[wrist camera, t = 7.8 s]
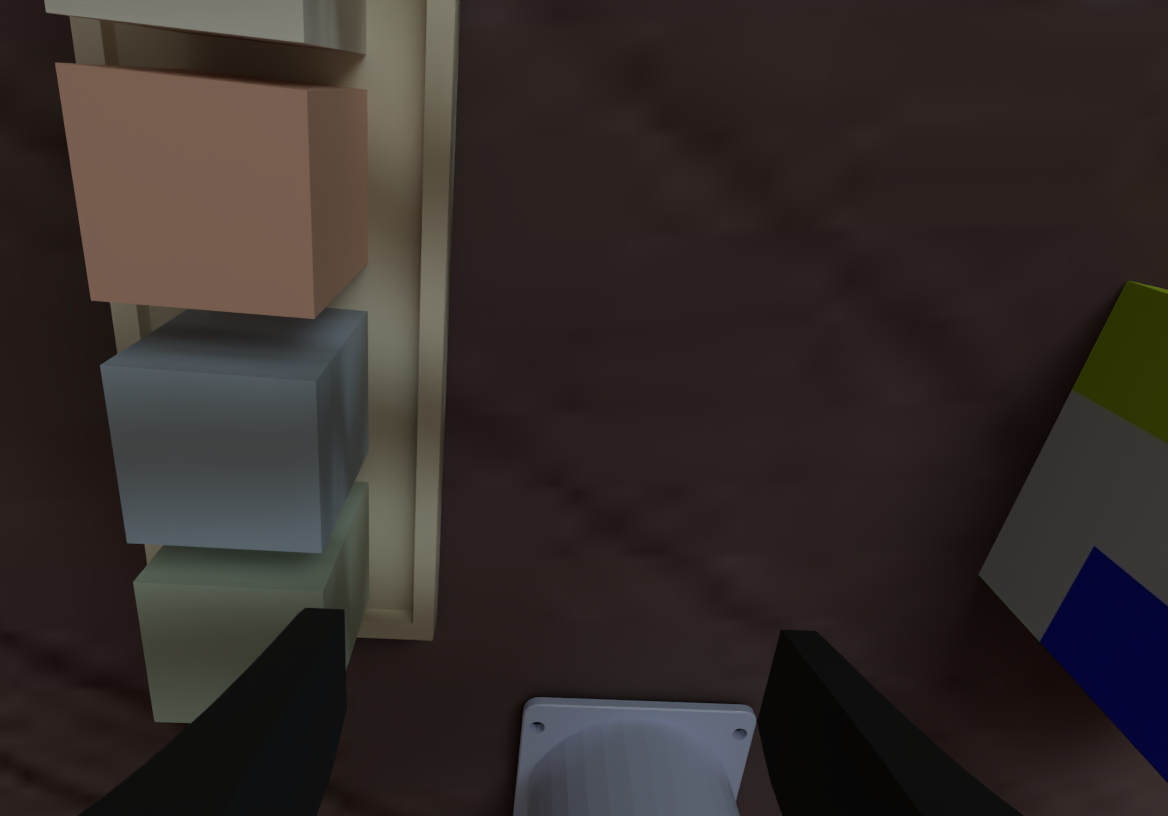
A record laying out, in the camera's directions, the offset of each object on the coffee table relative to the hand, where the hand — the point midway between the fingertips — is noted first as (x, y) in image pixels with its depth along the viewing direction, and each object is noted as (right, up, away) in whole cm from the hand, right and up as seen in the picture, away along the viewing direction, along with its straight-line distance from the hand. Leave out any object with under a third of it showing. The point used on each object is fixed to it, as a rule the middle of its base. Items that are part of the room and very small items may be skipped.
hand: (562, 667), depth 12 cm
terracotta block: (-7, +10, +5) cm, 13 cm away
